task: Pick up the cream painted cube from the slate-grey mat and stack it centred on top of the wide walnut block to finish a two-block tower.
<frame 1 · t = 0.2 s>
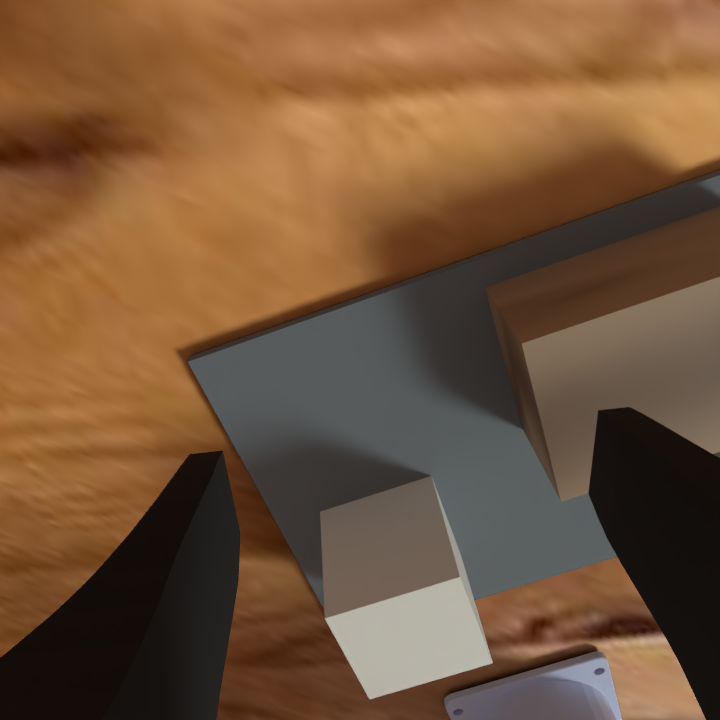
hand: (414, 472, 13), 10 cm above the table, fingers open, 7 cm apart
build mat: (548, 425, 25), on the table
walnut block: (617, 325, 22), resting on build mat
cream cube: (393, 534, 26), resting on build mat
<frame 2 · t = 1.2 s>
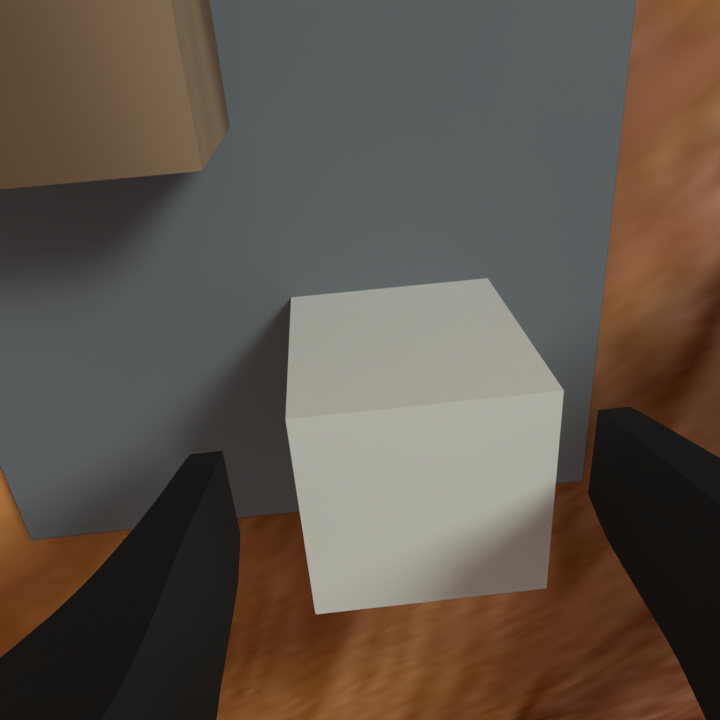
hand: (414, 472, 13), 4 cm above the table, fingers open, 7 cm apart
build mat: (248, 68, 13), on the table
cream cube: (394, 373, 16), resting on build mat
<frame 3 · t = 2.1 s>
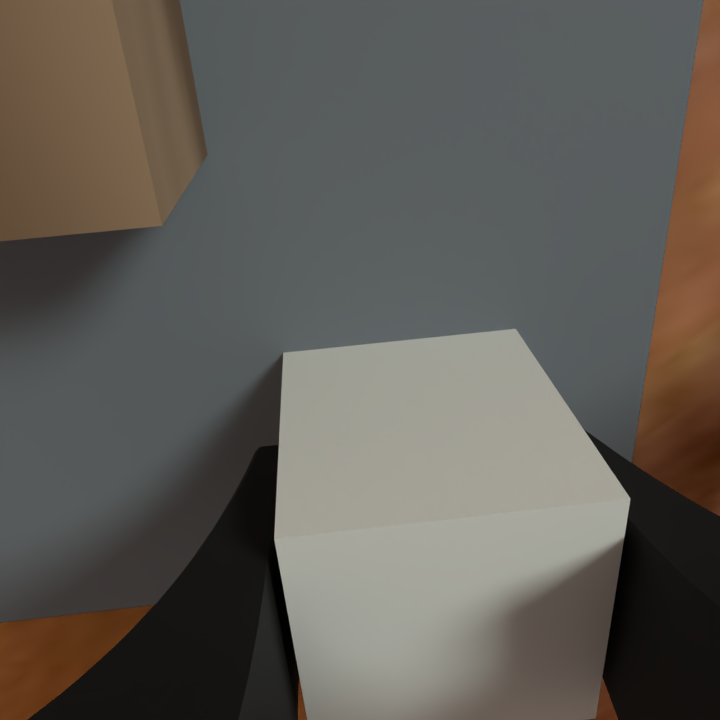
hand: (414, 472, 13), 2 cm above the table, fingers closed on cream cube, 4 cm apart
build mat: (230, 83, 11), on the table
cream cube: (405, 436, 14), resting on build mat, touching gripper
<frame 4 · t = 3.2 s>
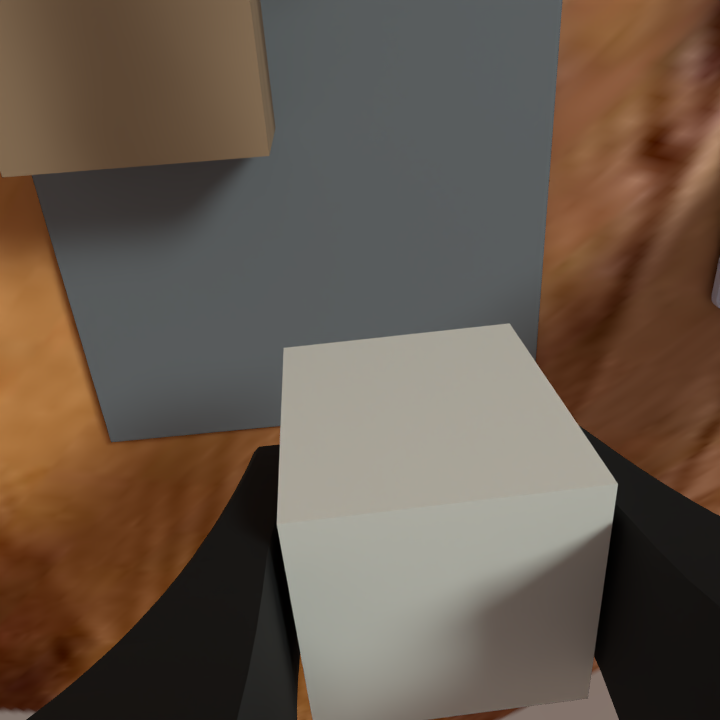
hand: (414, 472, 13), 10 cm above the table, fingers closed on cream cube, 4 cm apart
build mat: (289, 87, 18), on the table
cream cube: (402, 429, 14), point 8 cm above the table, touching gripper
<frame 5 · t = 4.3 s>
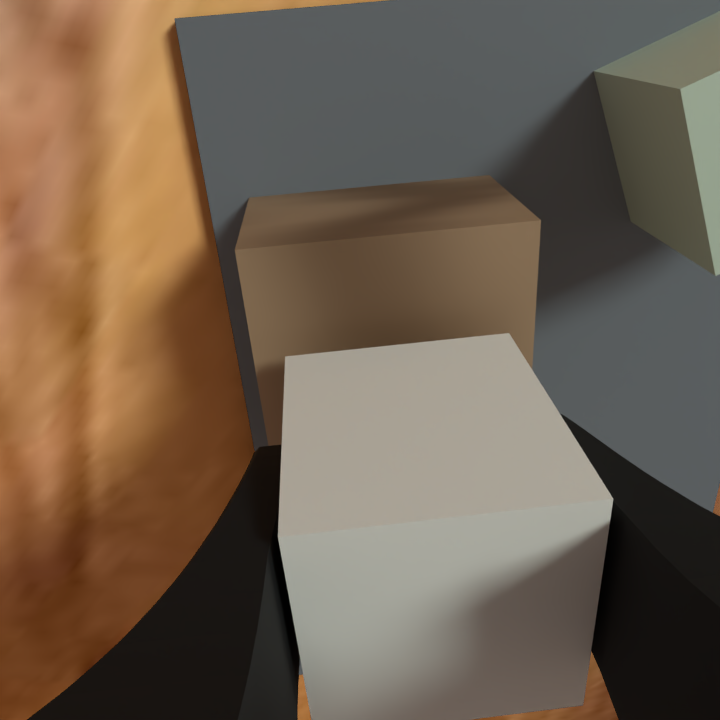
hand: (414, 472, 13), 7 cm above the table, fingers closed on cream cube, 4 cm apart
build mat: (497, 401, 20), on the table
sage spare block: (691, 114, 16), resting on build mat
walnut block: (379, 330, 18), resting on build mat
cream cube: (402, 436, 14), point 5 cm above the table, touching gripper
when the fingers open (7 cm above the table, at t = 4.8 s): cream cube stays where it is, resting on walnut block.
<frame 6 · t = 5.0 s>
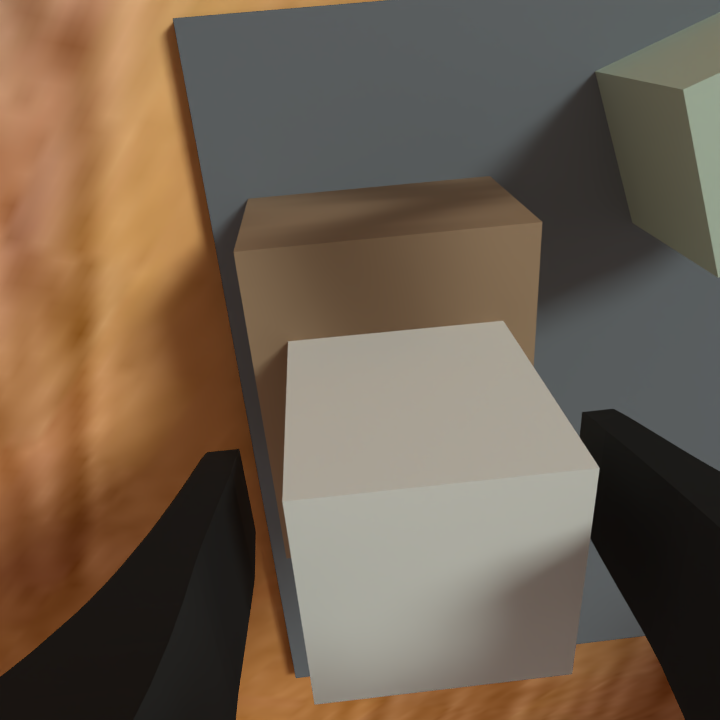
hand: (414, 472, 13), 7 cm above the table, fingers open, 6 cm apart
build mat: (498, 403, 20), on the table
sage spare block: (693, 115, 16), resting on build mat
walnut block: (379, 332, 18), resting on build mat, touching cream cube
cream cube: (400, 421, 15), point 4 cm above the table, touching walnut block
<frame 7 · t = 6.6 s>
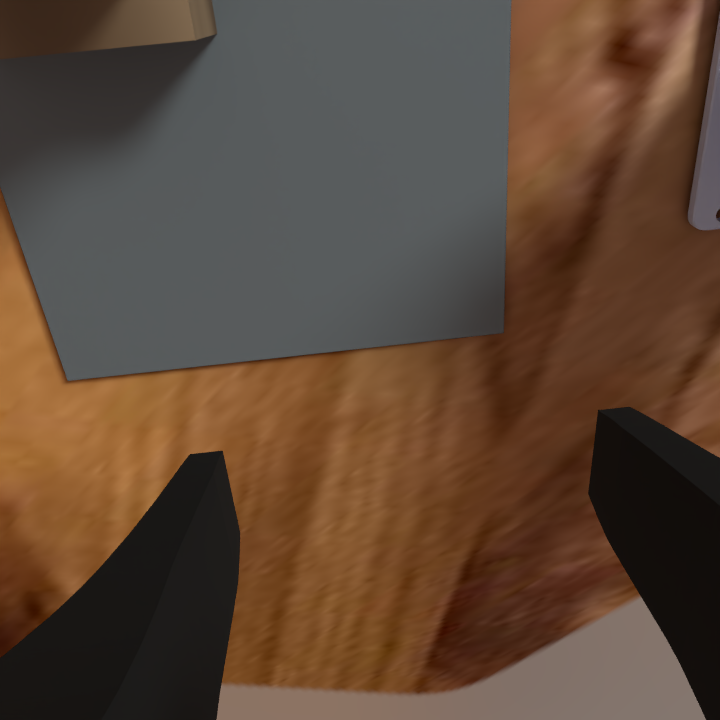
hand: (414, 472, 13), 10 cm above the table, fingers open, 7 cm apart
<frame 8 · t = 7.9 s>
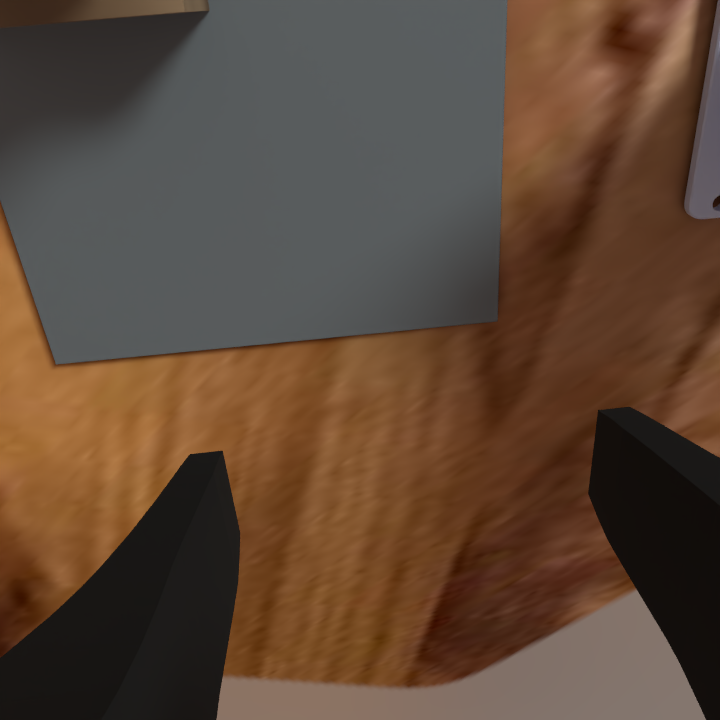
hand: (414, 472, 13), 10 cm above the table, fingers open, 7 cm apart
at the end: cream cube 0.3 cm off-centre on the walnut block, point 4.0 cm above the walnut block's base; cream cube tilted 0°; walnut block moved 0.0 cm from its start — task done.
